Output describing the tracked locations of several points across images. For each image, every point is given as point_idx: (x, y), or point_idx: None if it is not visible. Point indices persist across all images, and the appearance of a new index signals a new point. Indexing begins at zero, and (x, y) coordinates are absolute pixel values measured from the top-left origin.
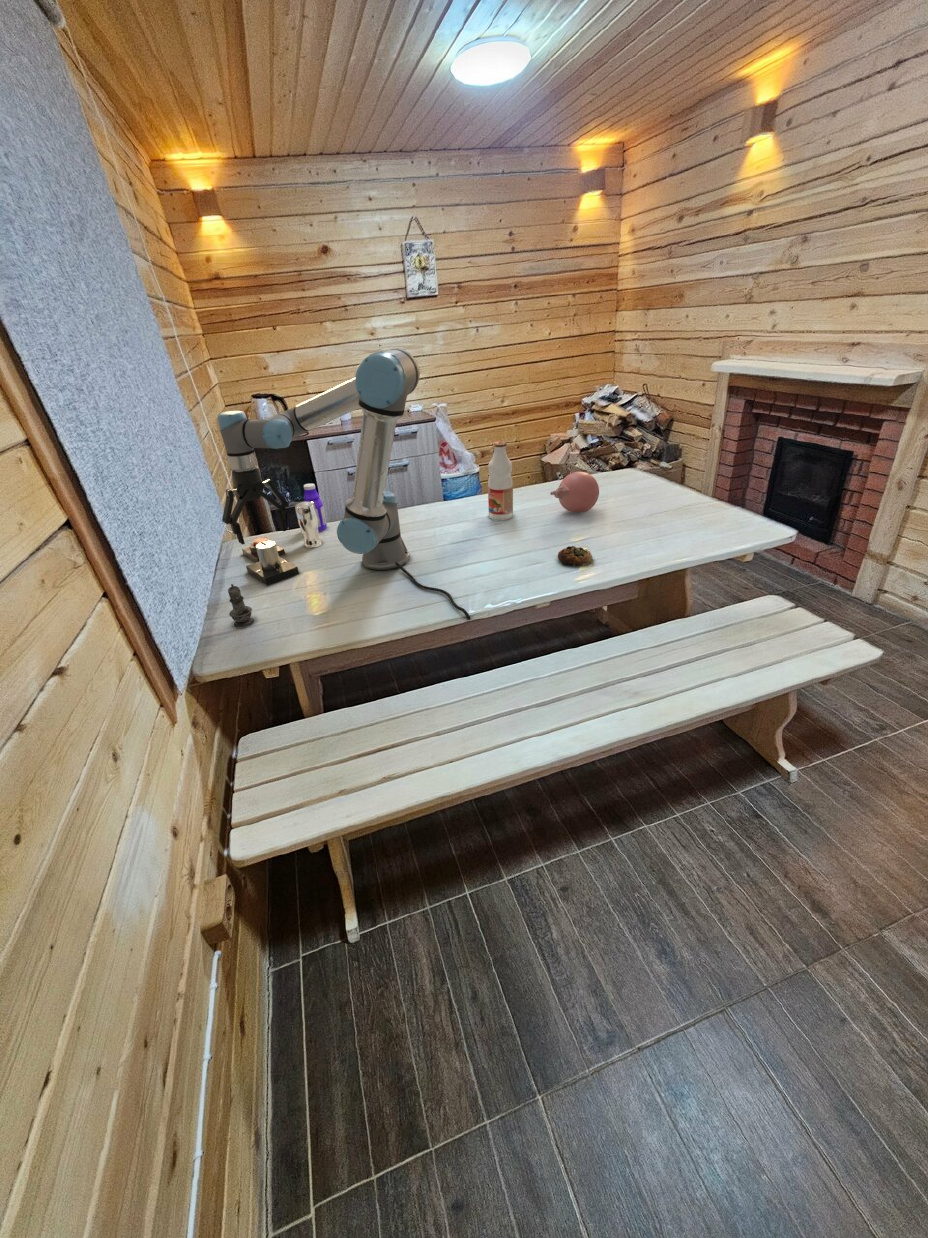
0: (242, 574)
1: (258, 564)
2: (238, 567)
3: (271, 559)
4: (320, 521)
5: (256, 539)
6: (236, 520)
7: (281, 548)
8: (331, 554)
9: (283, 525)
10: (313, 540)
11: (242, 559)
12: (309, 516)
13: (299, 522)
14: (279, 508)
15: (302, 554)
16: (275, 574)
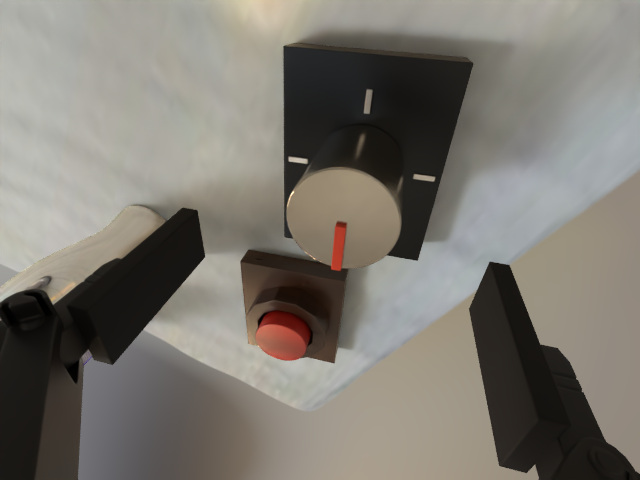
0: (436, 249)
1: None
2: (405, 300)
3: (367, 143)
4: None
5: (287, 354)
6: (572, 471)
7: (244, 271)
8: (114, 99)
9: (166, 230)
10: (132, 223)
11: (359, 328)
12: (41, 280)
13: None
14: (50, 333)
15: (204, 199)
16: (407, 62)
